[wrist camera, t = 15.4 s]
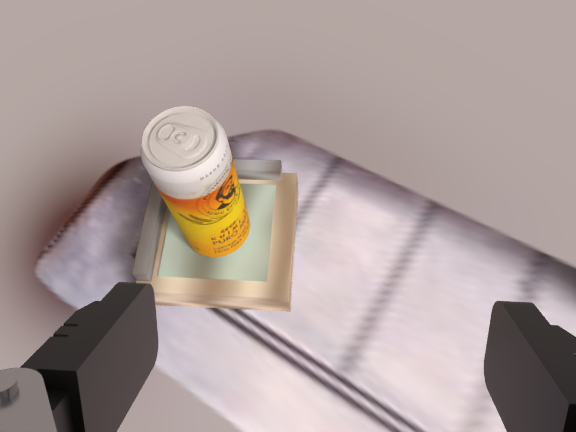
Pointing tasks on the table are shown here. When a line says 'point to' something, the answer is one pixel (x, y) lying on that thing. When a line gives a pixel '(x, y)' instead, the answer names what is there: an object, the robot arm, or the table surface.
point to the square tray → (236, 266)
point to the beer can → (197, 178)
